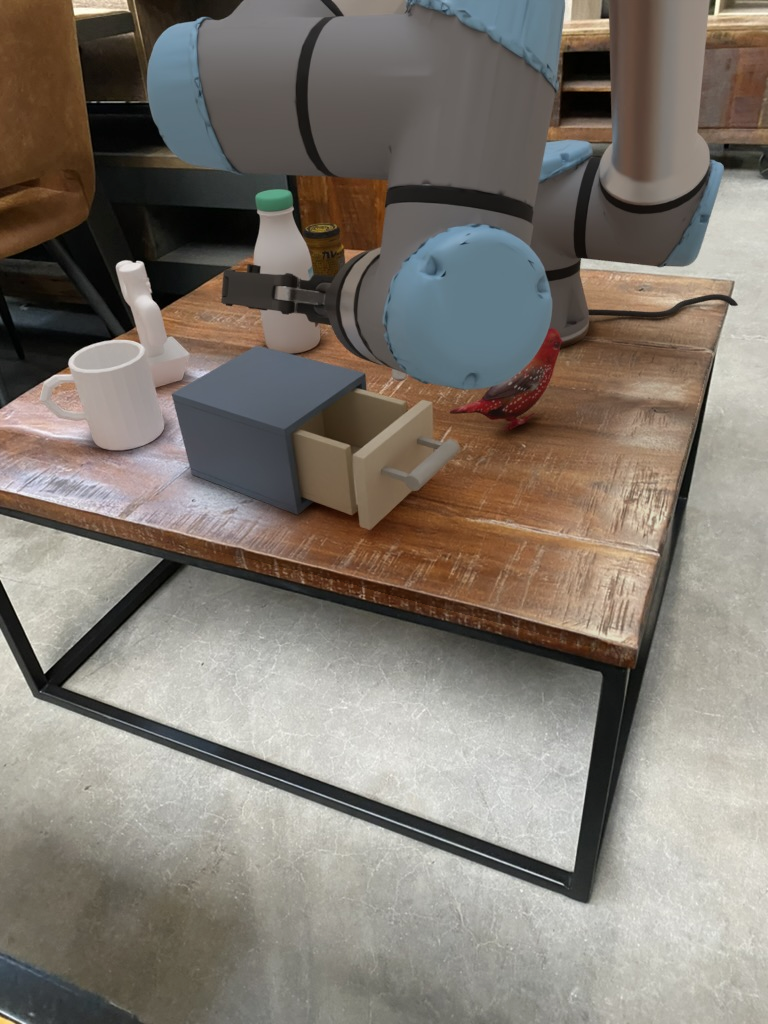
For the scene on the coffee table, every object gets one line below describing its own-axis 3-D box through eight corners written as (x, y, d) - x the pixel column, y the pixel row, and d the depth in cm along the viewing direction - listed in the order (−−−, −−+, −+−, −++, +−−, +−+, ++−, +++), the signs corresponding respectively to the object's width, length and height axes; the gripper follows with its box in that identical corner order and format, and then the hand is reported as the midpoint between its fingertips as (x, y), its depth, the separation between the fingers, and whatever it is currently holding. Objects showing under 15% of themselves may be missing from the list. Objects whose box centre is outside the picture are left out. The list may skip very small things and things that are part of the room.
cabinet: (371, 454, 82) (365, 372, 77) (297, 515, 74) (284, 429, 69) (269, 422, 89) (256, 345, 84) (191, 474, 81) (171, 393, 76)
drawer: (471, 481, 76) (471, 412, 71) (408, 545, 68) (405, 471, 64) (328, 437, 84) (321, 372, 79) (259, 489, 77) (246, 421, 72)
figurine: (144, 400, 96) (111, 282, 87) (123, 373, 102) (91, 261, 94) (199, 383, 99) (173, 268, 90) (175, 358, 105) (149, 248, 96)
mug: (53, 438, 89) (24, 360, 83) (154, 409, 94) (133, 333, 88) (66, 469, 83) (36, 388, 78) (173, 437, 88) (152, 357, 82)
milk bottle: (312, 356, 103) (293, 201, 91) (258, 354, 105) (232, 201, 93) (327, 333, 109) (311, 184, 97) (275, 331, 111) (254, 185, 99)
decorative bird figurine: (567, 407, 88) (575, 325, 82) (459, 469, 79) (460, 381, 73) (547, 399, 90) (553, 318, 84) (440, 459, 81) (438, 372, 75)
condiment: (330, 296, 121) (322, 217, 114) (369, 308, 116) (363, 226, 109) (296, 311, 117) (285, 230, 110) (334, 323, 112) (326, 240, 105)
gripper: (190, 342, 46) (185, 328, 66) (558, 387, 53) (455, 361, 73) (199, 212, 45) (192, 237, 64) (579, 275, 52) (467, 280, 71)
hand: (331, 303), depth 69 cm, fingers open, 13 cm apart
